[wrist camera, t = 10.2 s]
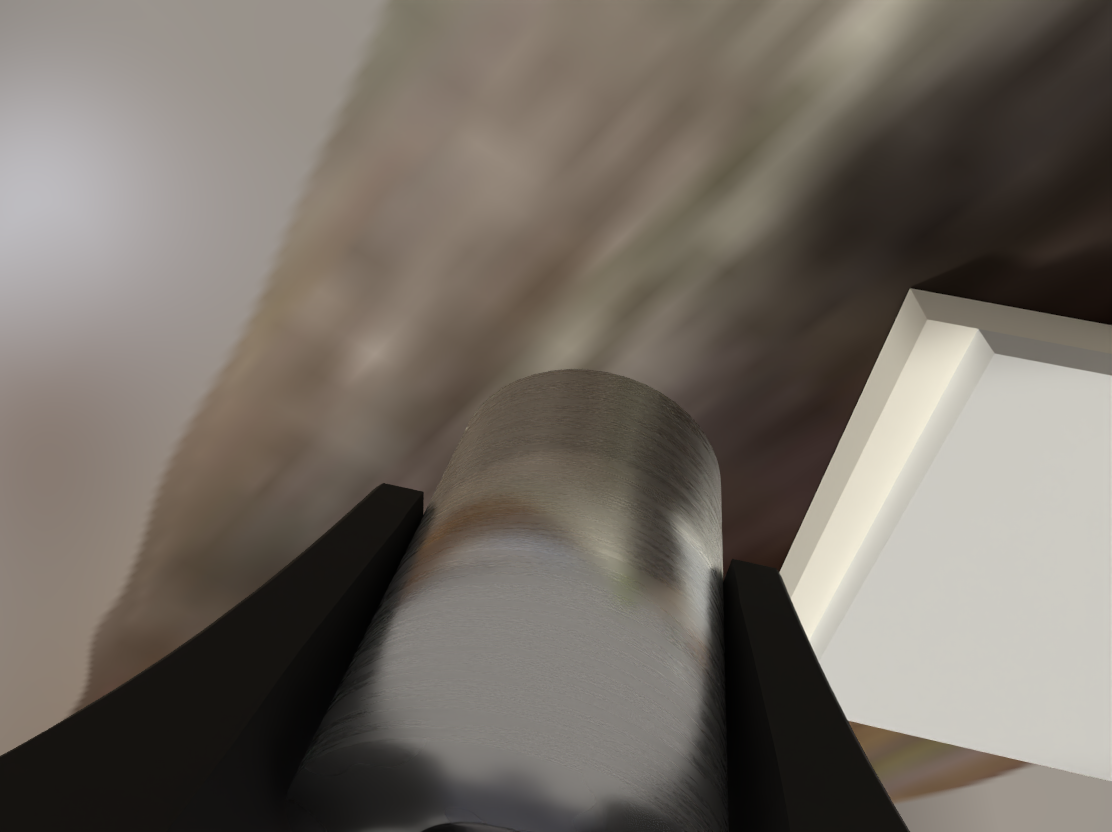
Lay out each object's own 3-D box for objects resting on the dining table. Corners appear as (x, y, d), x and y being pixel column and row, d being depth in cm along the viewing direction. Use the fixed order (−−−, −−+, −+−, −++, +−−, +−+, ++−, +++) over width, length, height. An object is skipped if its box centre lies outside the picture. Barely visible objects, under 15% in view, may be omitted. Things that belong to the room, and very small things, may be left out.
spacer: (687, 597, 13) (673, 1006, 8) (455, 546, 13) (304, 908, 8) (753, 400, 10) (794, 825, 5) (464, 344, 11) (253, 696, 6)
